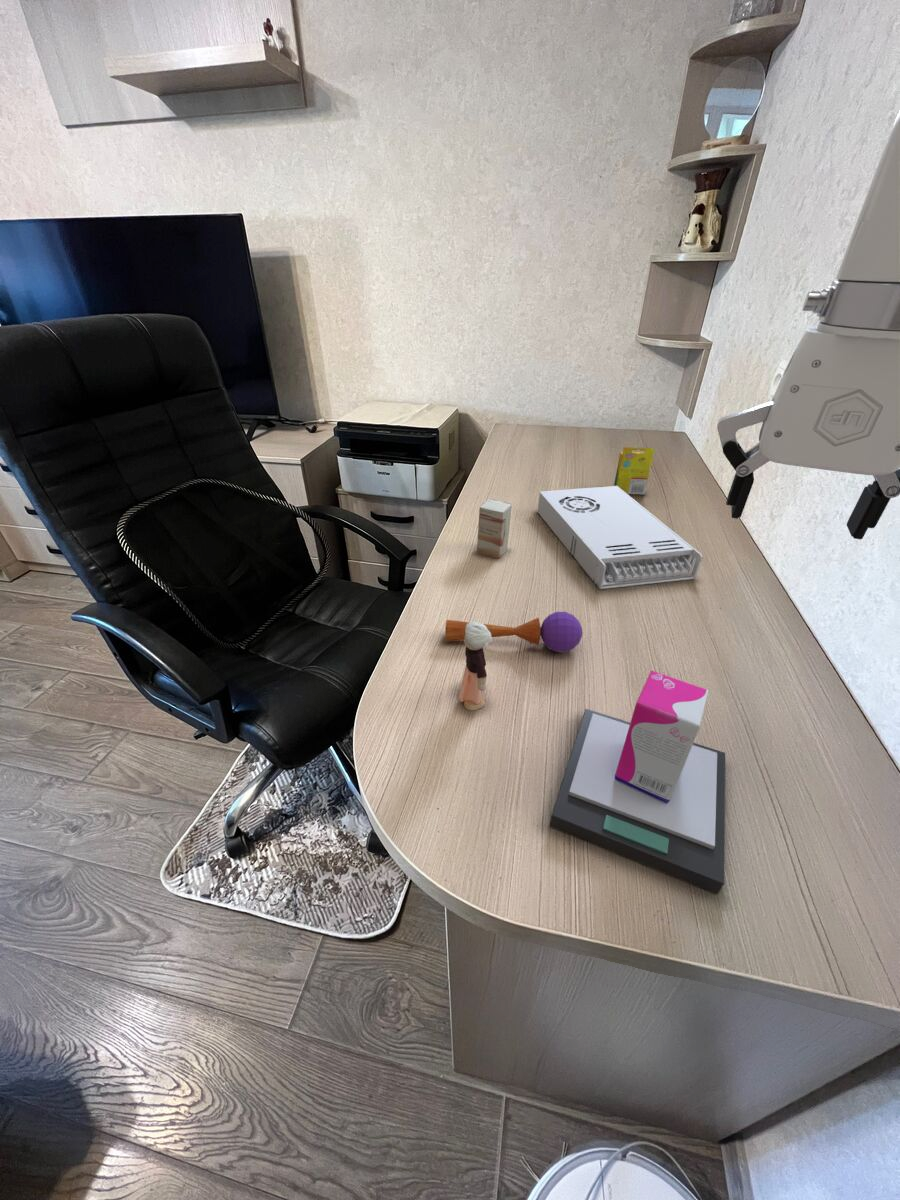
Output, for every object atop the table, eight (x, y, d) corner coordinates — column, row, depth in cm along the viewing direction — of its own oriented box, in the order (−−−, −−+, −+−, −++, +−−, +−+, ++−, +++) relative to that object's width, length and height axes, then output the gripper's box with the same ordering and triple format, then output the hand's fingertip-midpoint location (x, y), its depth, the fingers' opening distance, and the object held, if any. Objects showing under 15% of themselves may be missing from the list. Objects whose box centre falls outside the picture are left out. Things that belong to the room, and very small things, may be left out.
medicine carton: (475, 553, 99) (477, 506, 93) (485, 544, 102) (487, 497, 96) (500, 559, 97) (503, 511, 91) (508, 550, 100) (512, 503, 94)
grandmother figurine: (449, 685, 69) (449, 610, 61) (474, 678, 70) (478, 604, 63) (470, 725, 63) (473, 648, 56) (498, 717, 64) (505, 640, 57)
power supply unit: (599, 589, 88) (604, 565, 86) (537, 512, 115) (539, 491, 112) (695, 579, 91) (703, 555, 89) (613, 505, 118) (617, 485, 115)
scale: (720, 763, 58) (727, 749, 57) (717, 894, 46) (726, 880, 45) (583, 719, 64) (586, 704, 62) (549, 826, 52) (552, 811, 50)
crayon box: (642, 490, 126) (653, 444, 119) (644, 495, 123) (656, 448, 117) (612, 489, 126) (621, 443, 120) (614, 493, 124) (623, 447, 117)
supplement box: (680, 764, 55) (712, 689, 49) (668, 805, 51) (701, 729, 44) (627, 741, 58) (651, 667, 51) (612, 779, 53) (635, 703, 47)
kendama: (448, 604, 78) (580, 605, 75) (450, 638, 80) (578, 640, 77) (443, 621, 72) (585, 622, 69) (445, 657, 74) (583, 660, 72)
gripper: (754, 310, 37) (690, 521, 47) (1065, 322, 31) (917, 561, 41) (751, 303, 43) (694, 492, 52) (1013, 312, 37) (894, 524, 46)
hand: (792, 522), depth 47 cm, fingers open, 9 cm apart
